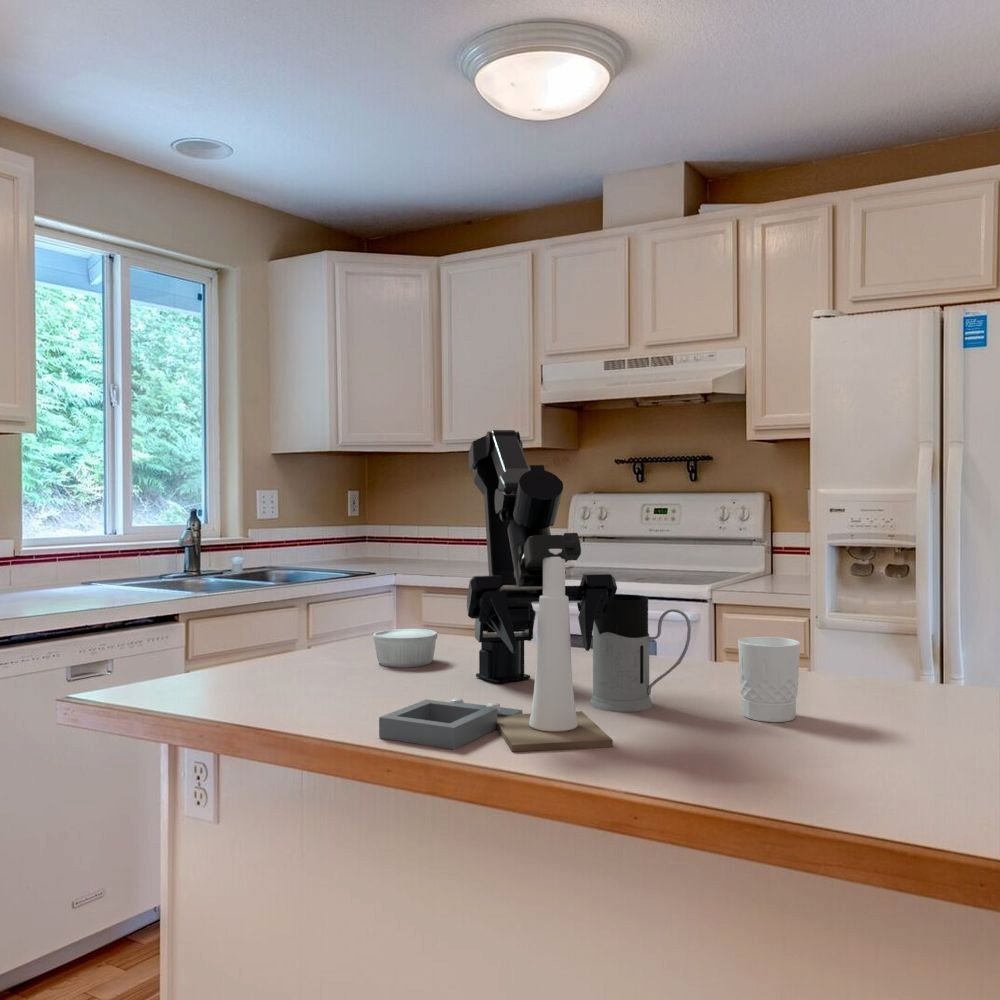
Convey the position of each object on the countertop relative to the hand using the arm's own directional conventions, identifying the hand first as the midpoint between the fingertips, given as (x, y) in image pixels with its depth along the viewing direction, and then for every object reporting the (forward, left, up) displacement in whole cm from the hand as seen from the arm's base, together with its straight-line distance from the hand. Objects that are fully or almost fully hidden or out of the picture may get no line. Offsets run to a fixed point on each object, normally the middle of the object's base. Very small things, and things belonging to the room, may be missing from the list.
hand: (551, 650), depth 112 cm
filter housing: (+7, -11, -11) cm, 17 cm away
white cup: (-30, +9, -11) cm, 33 cm away
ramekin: (-9, -52, -11) cm, 54 cm away
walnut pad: (-1, -1, -11) cm, 11 cm away
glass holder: (-20, -5, -11) cm, 23 cm away
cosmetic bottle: (-1, -1, -10) cm, 10 cm away
